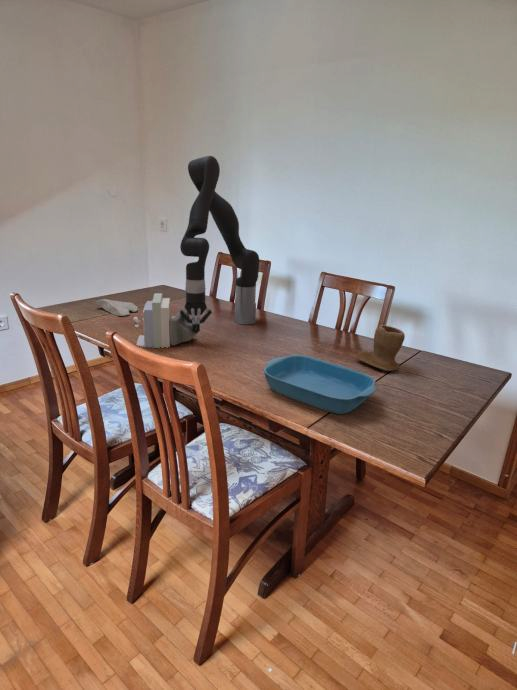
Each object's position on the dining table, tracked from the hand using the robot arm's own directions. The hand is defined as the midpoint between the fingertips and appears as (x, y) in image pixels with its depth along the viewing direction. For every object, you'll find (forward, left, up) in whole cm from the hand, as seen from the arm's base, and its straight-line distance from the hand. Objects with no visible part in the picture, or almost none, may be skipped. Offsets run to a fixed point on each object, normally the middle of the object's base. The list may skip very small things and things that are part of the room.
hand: (196, 332), depth 179 cm
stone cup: (-67, +27, -4) cm, 72 cm away
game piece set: (+17, -24, -5) cm, 30 cm away
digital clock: (+4, -1, -3) cm, 6 cm away
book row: (+17, -1, -4) cm, 17 cm away
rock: (+36, -45, -4) cm, 58 cm away
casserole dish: (-37, +48, -4) cm, 61 cm away
